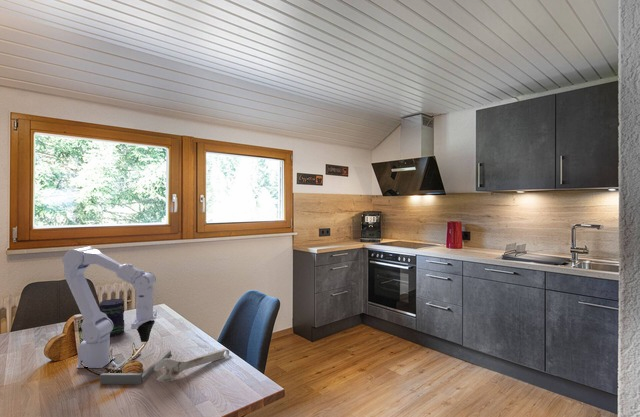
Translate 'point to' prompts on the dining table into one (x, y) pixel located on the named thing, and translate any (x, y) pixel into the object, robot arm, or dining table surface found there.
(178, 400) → the dining table surface
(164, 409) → the dining table surface
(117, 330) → the storage jar
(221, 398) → the dining table surface
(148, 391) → the dining table surface
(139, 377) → the bay
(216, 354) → the wrench
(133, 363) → the pastry
